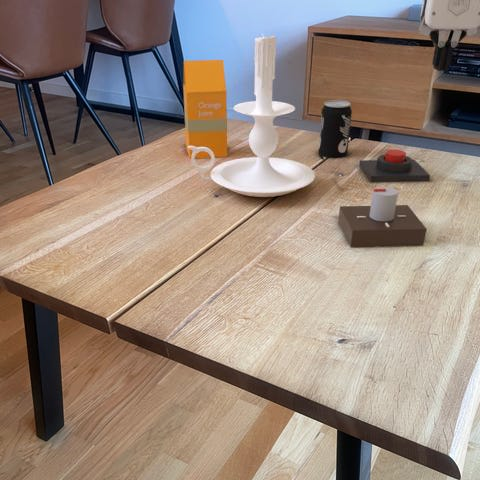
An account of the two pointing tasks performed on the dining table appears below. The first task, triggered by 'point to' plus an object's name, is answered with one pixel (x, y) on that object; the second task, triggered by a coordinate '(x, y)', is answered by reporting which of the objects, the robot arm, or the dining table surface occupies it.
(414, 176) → the dark grey device base
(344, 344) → the dining table surface
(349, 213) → the panel
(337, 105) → the beverage can
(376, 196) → the warmer dial
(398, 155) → the power button
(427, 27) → the robot arm
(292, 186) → the candlestick
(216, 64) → the orange juice
